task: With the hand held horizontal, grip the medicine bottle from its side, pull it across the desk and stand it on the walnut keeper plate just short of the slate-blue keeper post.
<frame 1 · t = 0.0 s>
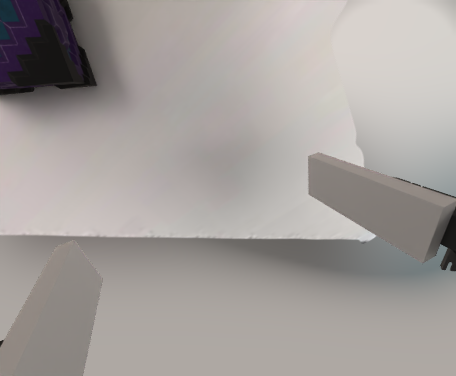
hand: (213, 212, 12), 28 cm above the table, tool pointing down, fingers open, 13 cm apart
energy cube: (24, 36, 25), on the table
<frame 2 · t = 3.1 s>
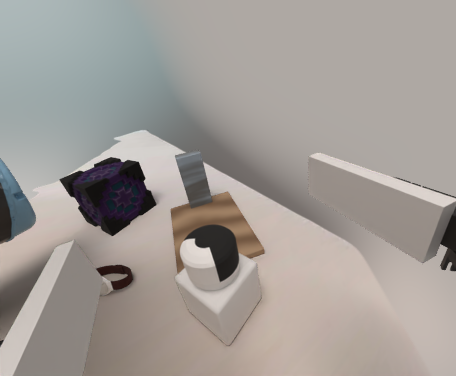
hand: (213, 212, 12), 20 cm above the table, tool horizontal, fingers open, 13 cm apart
watch: (113, 283, 34), on the table
keeper: (210, 229, 41), on the table
energy cube: (122, 214, 51), on the table
medicine bottle: (225, 305, 28), on the table
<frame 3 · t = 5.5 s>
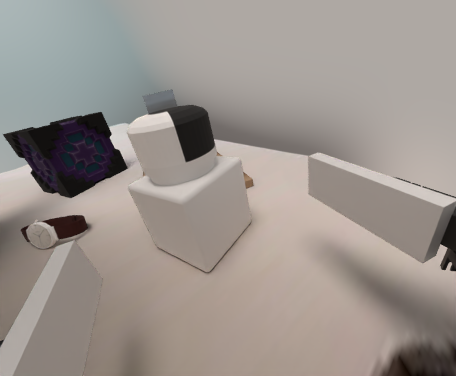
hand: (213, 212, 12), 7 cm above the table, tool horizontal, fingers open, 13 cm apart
watch: (63, 238, 26), on the table
keeper: (188, 176, 34), on the table
energy cube: (87, 180, 44), on the table
medicine bottle: (205, 235, 21), on the table
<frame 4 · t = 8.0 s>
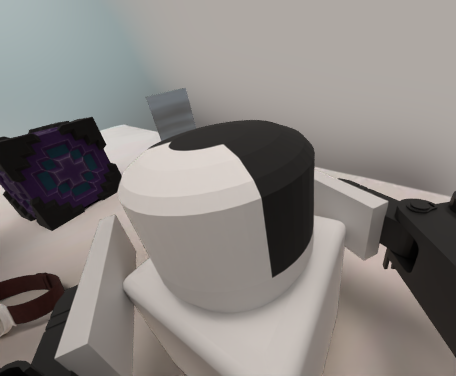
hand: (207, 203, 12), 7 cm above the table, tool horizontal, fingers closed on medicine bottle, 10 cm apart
watch: (28, 310, 17), on the table
keeper: (207, 205, 26), on the table
energy cube: (76, 202, 35), on the table
medicine bottle: (257, 338, 12), on the table, touching gripper
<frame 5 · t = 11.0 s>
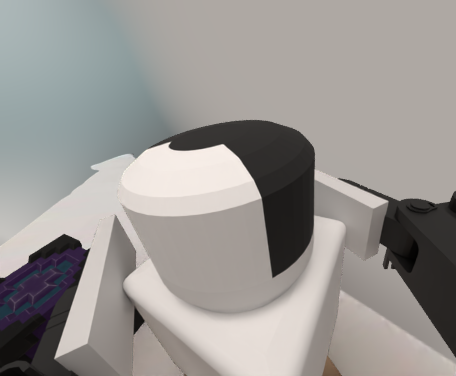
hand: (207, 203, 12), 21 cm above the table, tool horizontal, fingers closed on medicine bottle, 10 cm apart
energy cube: (88, 339, 28), on the table
medicine bottle: (257, 338, 12), point 14 cm above the table, touching gripper
when the fingers open (8 cm above the table, at t = 14.3 s): medicine bottle stays where it is, resting on keeper.
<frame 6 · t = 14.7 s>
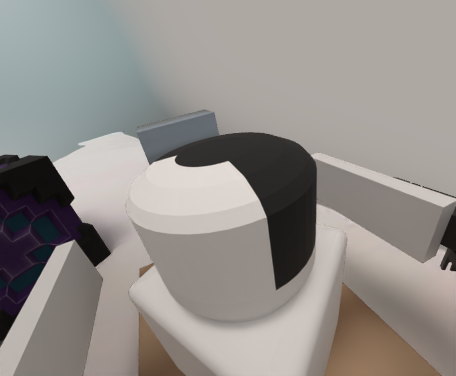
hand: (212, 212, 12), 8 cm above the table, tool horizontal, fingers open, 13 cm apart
keeper: (259, 348, 13), on the table
energy cube: (31, 282, 22), on the table
medicine bottle: (259, 343, 12), point 1 cm above the table, touching keeper
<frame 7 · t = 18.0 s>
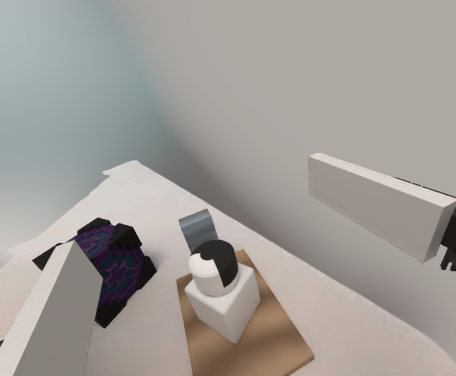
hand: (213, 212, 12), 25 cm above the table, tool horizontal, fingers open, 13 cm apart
keeper: (230, 312, 32), on the table
energy cube: (116, 287, 42), on the table
medicine bottle: (230, 310, 31), point 1 cm above the table, touching keeper
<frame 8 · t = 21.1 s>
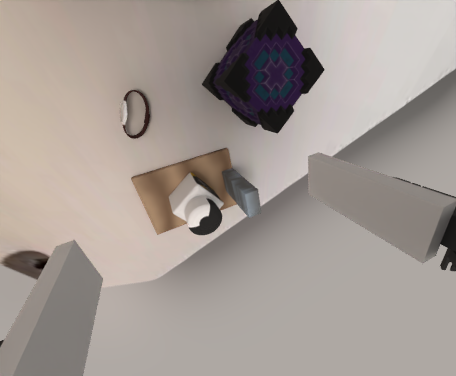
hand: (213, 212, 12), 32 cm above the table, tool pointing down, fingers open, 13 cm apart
watch: (135, 114, 36), on the table
keeper: (191, 190, 45), on the table
energy cube: (243, 79, 40), on the table
medicine bottle: (191, 192, 45), point 1 cm above the table, touching keeper
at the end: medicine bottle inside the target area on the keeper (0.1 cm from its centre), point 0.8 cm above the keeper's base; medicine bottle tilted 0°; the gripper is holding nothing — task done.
